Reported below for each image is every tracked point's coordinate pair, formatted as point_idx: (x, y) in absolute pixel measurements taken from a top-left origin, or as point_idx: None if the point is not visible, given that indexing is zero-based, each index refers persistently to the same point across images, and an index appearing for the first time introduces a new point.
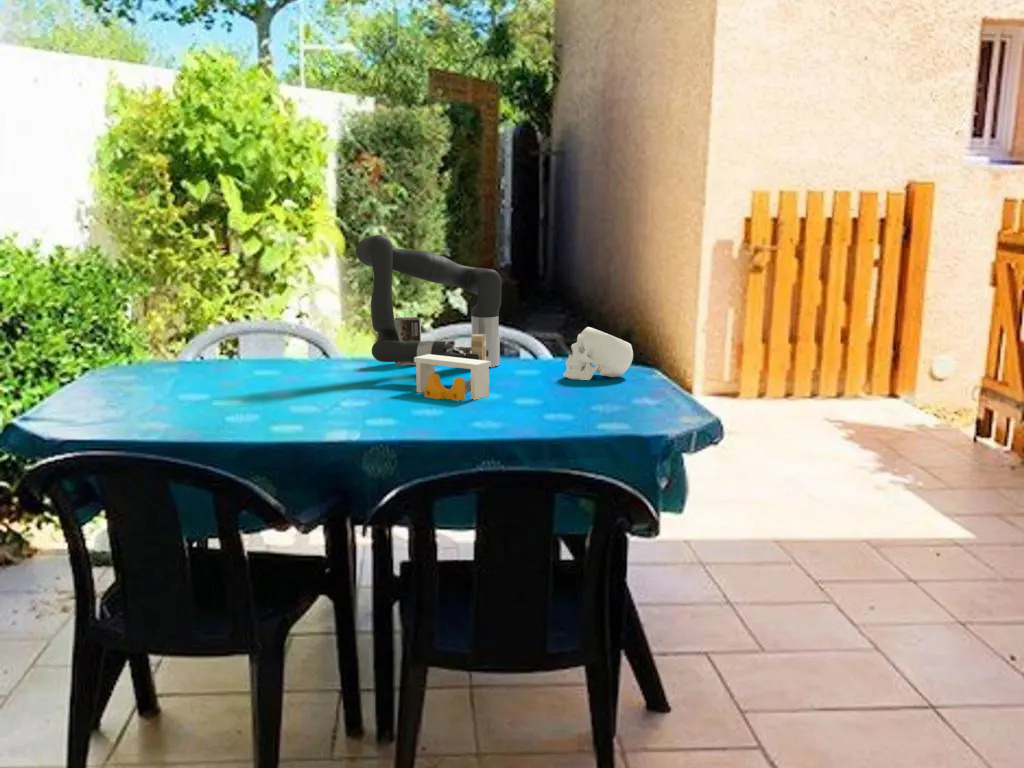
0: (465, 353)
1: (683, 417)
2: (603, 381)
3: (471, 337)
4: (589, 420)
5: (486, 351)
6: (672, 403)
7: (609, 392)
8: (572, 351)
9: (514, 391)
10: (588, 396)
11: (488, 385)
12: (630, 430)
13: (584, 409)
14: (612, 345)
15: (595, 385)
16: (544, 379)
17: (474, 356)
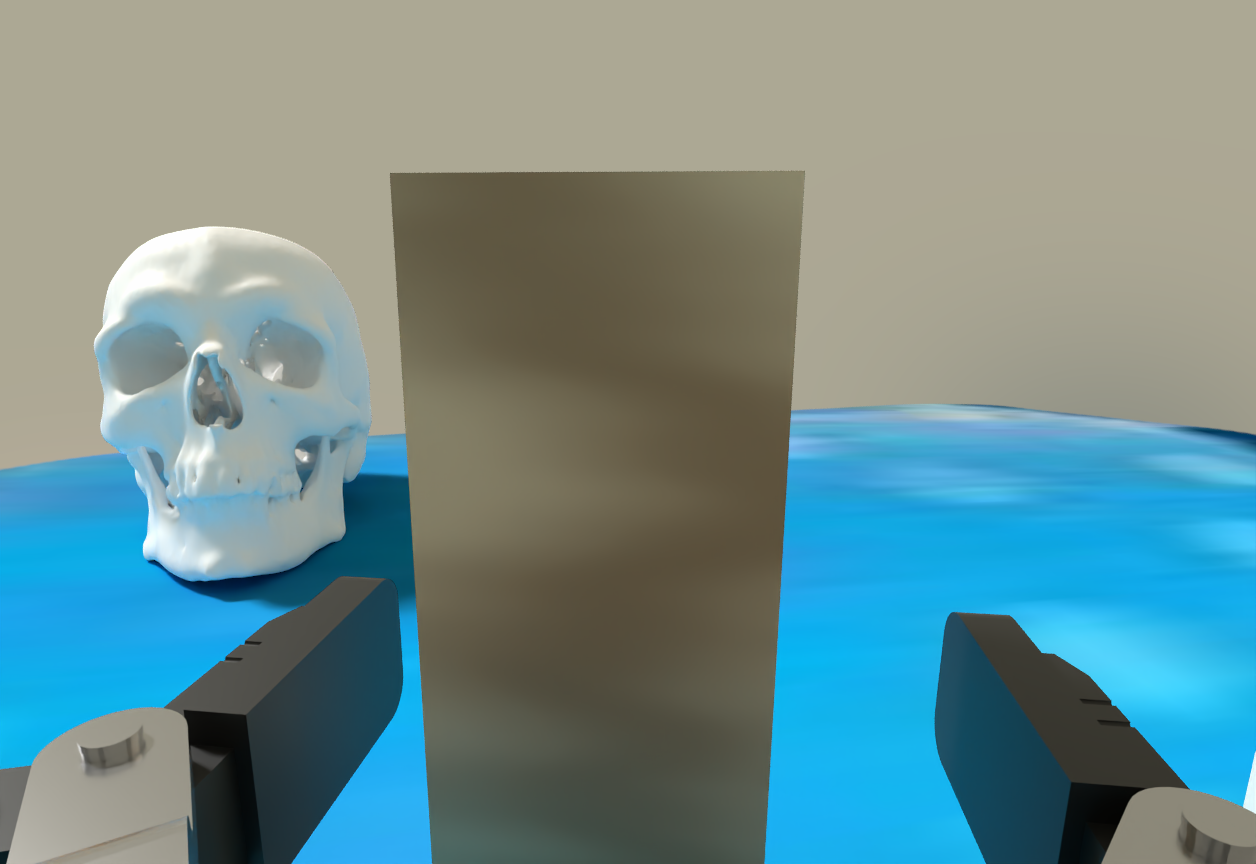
0: (1191, 812)
1: (940, 418)
2: (378, 503)
3: (795, 256)
4: (1216, 497)
5: (385, 609)
6: None
7: None
8: (189, 402)
9: (805, 759)
10: None
11: (1252, 810)
12: (1217, 453)
13: (1045, 511)
14: (355, 317)
15: None
16: None
17: (1081, 682)
